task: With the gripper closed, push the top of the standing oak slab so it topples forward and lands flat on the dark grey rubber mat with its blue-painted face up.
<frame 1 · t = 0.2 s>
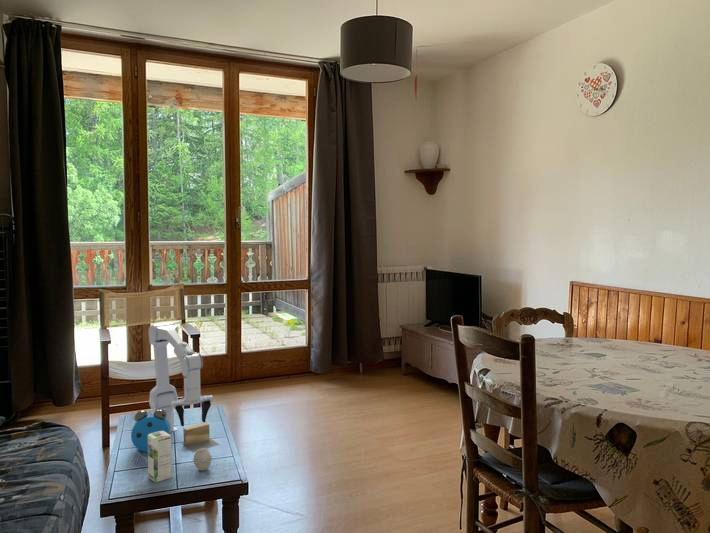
hand: (193, 423, 196), 10 cm above the table, tool pointing down, fingers open, 7 cm apart
beige rounded lump: (202, 470, 181), on the table
oak slab: (196, 441, 204), resting on rubber mat
alarm clock: (151, 450, 197), on the table
syrup box: (160, 478, 175), on the table
rubber mat: (199, 444, 202), on the table
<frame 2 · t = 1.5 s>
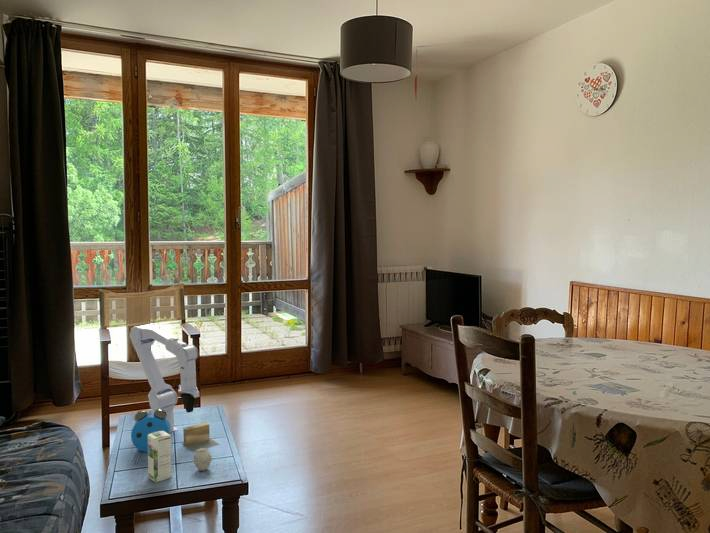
hand: (189, 411, 207), 10 cm above the table, tool pointing down, fingers closed
nothing on the table moved.
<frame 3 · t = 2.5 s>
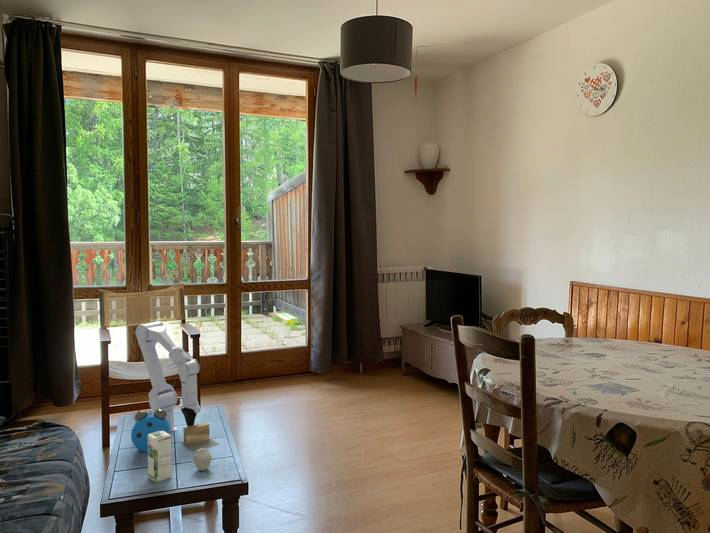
hand: (190, 426, 207), 5 cm above the table, tool pointing down, fingers closed
nothing on the table moved.
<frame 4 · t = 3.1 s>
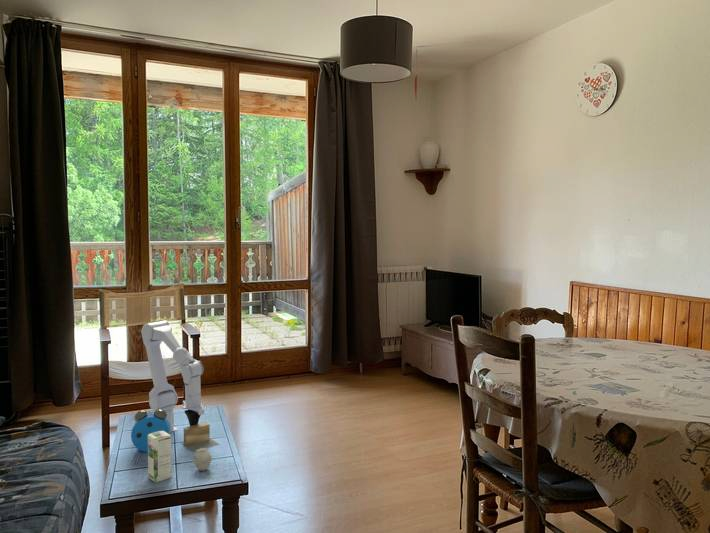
hand: (193, 428, 205), 5 cm above the table, tool pointing down, fingers closed
oak slab: (196, 441, 204), resting on rubber mat, touching gripper
everything else where it was.
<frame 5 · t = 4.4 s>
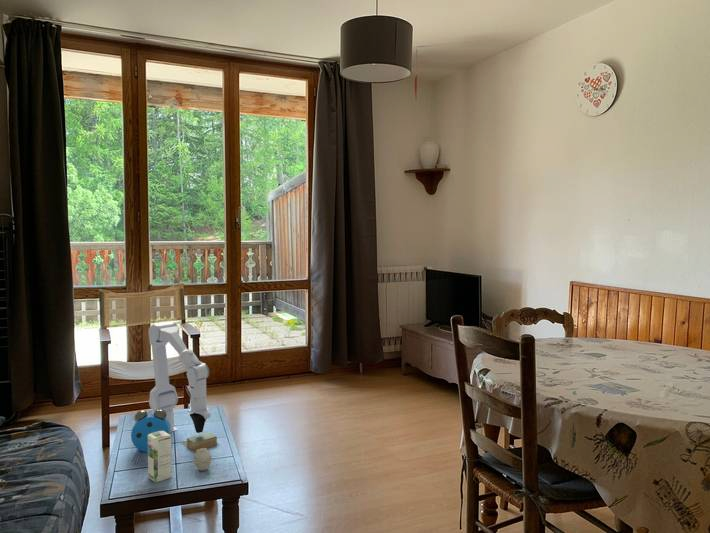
hand: (199, 432, 201), 5 cm above the table, tool pointing down, fingers closed
oak slab: (198, 438, 202), point 2 cm above the table, tilted 90°, touching rubber mat
everything else where it was.
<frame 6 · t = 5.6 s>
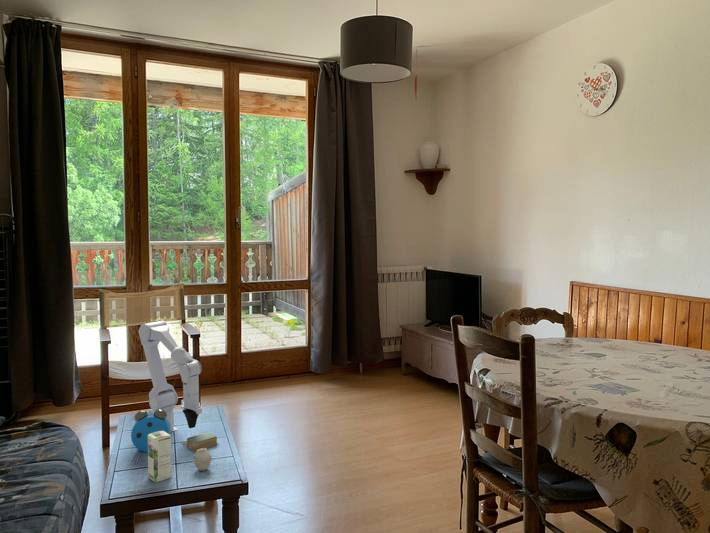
hand: (191, 427, 206), 5 cm above the table, tool pointing down, fingers closed
nothing on the table moved.
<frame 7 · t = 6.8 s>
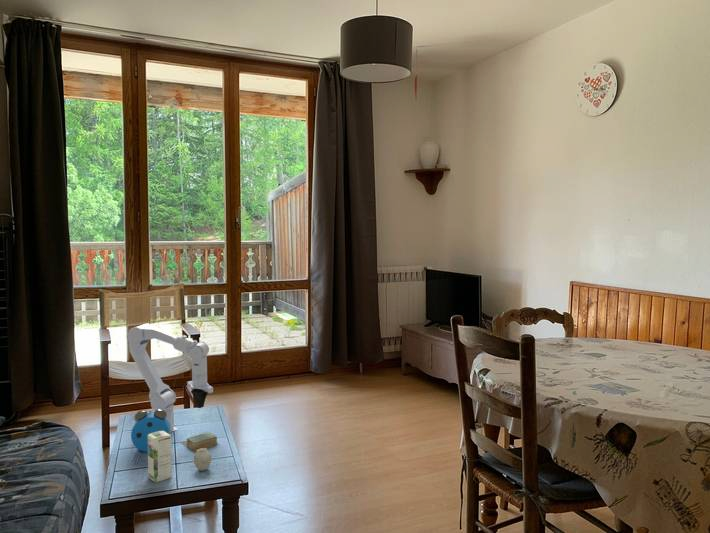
hand: (200, 407, 212), 10 cm above the table, tool pointing down, fingers closed
nothing on the table moved.
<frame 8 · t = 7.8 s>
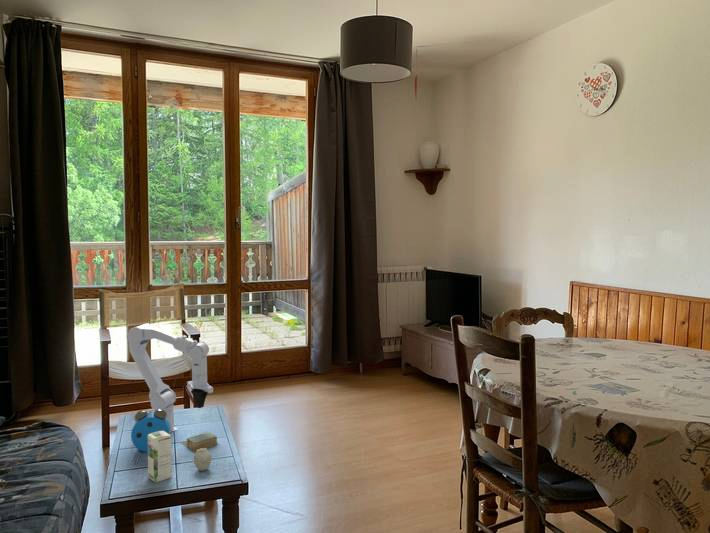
hand: (200, 407, 212), 10 cm above the table, tool pointing down, fingers closed
nothing on the table moved.
at the end: oak slab tilted 90°; oak slab inside the target area (2.8 cm from its centre), point 1.9 cm above the table; oak slab touching rubber mat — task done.
